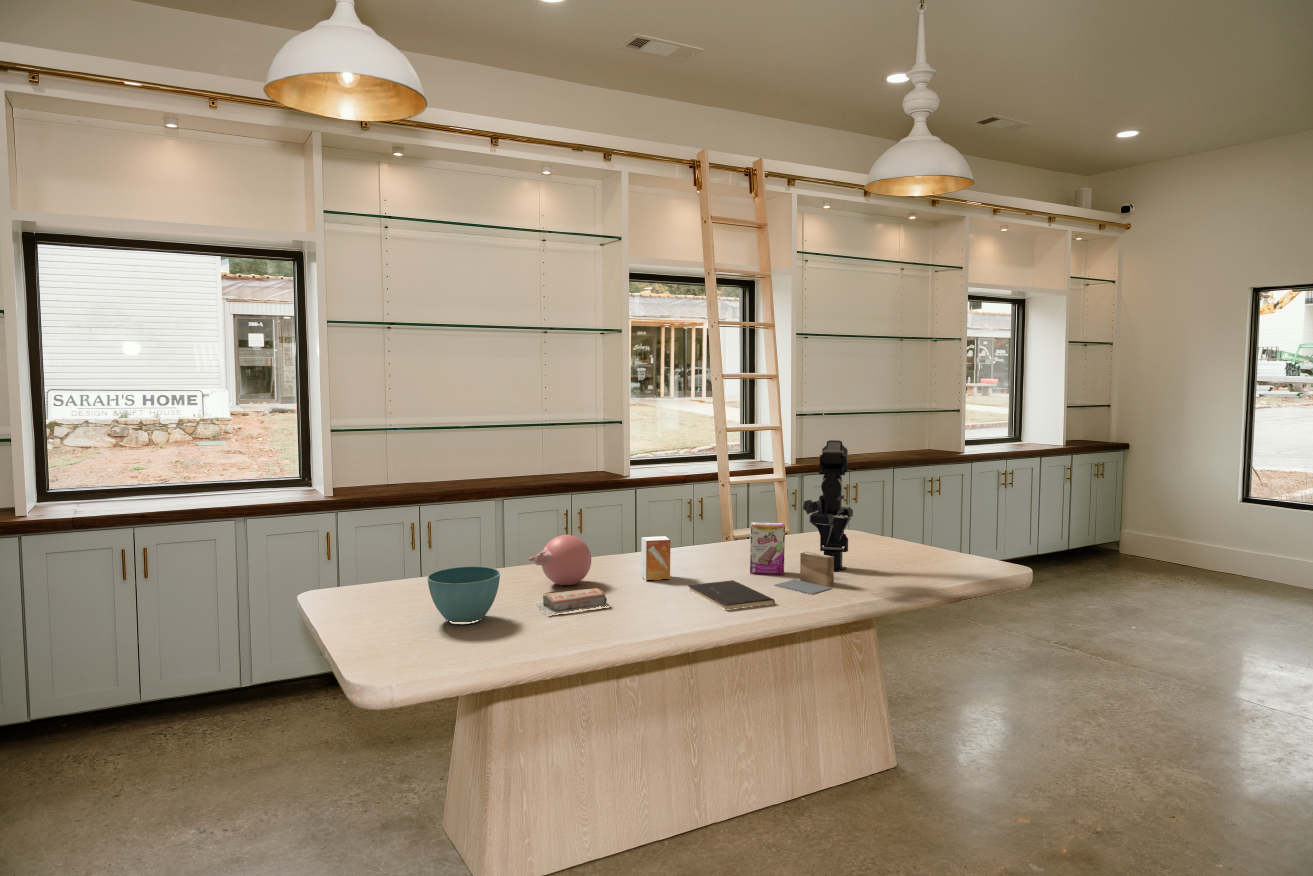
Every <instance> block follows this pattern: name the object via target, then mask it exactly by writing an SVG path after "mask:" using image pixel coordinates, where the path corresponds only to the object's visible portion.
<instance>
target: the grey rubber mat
mask: <svg viewBox="0 0 1313 876" xmlns="http://www.w3.org/2000/svg"><path fill="white" fill-rule="evenodd" d="M773 585H774V586H775V587H778V586H779V587H778V588H782V587H783V589H786V588H787V590H790V589H791V591H794V590H795V592H798V591H800V592H799V593H803V592H804V593H803V594H807V593H808V595H811V594H812V595H815V594H814V593H816V594H818V592H819V593H821V592H822V591H823V592H825V591H830V590H832V589H833V587H831V586H830V587H826V586H822V585H817V584H813V583H808V582H804V581H800V579H791V580H788V581H783V582H778V583H776V584H773Z"/></svg>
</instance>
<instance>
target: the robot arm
mask: <svg viewBox="0 0 1313 876" xmlns="http://www.w3.org/2000/svg"><path fill="white" fill-rule="evenodd" d="M848 451H849V450H848V448H847V447H845V446H844V445H843V441H842V440H840V439H838V440H835V439H834V440H833V439H830V440H827V441H826V445H825V446H824V447H822V448H821V454H819V466H818V467H819V469H818V475H823V476H822V483H821V486H820V489H821V492H822V494H821V495H819V497H818V500H816V501H813V500H812V499H808V500H805V501H804V500H803V505H802V506H803V507H802V510H803V511H805V512H806V515H809V523H811V524H812V526H814V527H816V528H817V530H818V533H819V538H820V539H819V547H820V548H819V551H820V552H823V555H827V556H832V557H834V572H840V571H842V570H845V569H847V567H846V566H843V553H847V552H849V538H848V537H847V534H846V533H845V530H846V528H847V526H848V524H849V523H850V521H851V520H852V517H853V516H854V510H853V509H852V507H851V506H842V503H843V502H842V500H844V499H845V495H844V494H843V492H842V491H843V477H842V476H845V475H846V473H847V472H848V457H849V456H848V455H849V454H848V453H849V452H848Z"/></svg>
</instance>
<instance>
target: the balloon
mask: <svg viewBox="0 0 1313 876" xmlns="http://www.w3.org/2000/svg"><path fill="white" fill-rule="evenodd" d="M528 561H529V562H534V564H535V565H536V566H541V568H542V571H543V573H544V575H545V577H546V578H547V579H548V580H550V581H551V582H552V583H554V584H556V585H559V586H563V585H568V586H572V585H576V584H578V583H580V582H581V581H582V580H584V579H585V578H586V577H587V575H588V573H590V572H589V571H590V569H591V568H592V567H591V566H592V552H591V551H590V548H589V546H588V545H587V543H586V542H585V541H583V540H582V539H580V538H579V537H577V536H574V535H572V534H562V535H559V536H556V537H554V538H552V539H551V540H549V541H548V543H546V544H545V546H544V548H543V549H542V550H541V551H540V552H538V553H537V554H536V555H533V556H530V557H528Z"/></svg>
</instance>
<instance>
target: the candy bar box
mask: <svg viewBox="0 0 1313 876" xmlns="http://www.w3.org/2000/svg"><path fill="white" fill-rule="evenodd" d="M785 534H786V526H785V523H784V522H756V521H751V522H750V539H749V540H750V543H749V544H750V545H749V546H750V547H749V548H750V549H749V572H750V573H749V574H751V575H753V574H754V575H775V574H776V575H778V576H779V575H780V576H783V575H785V546H786V545H785V541H786V539H785V537H786V535H785Z"/></svg>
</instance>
